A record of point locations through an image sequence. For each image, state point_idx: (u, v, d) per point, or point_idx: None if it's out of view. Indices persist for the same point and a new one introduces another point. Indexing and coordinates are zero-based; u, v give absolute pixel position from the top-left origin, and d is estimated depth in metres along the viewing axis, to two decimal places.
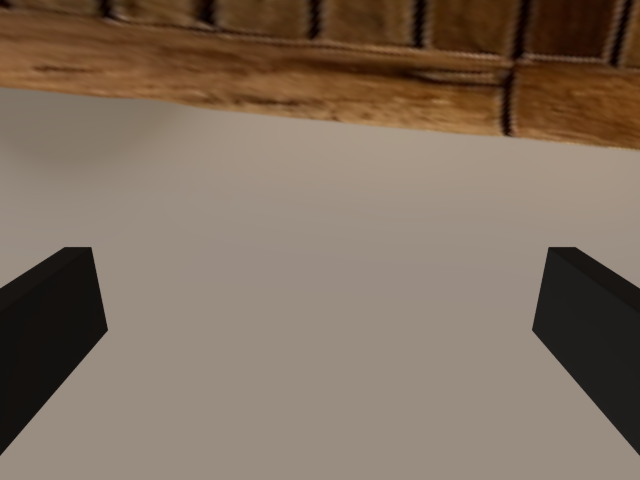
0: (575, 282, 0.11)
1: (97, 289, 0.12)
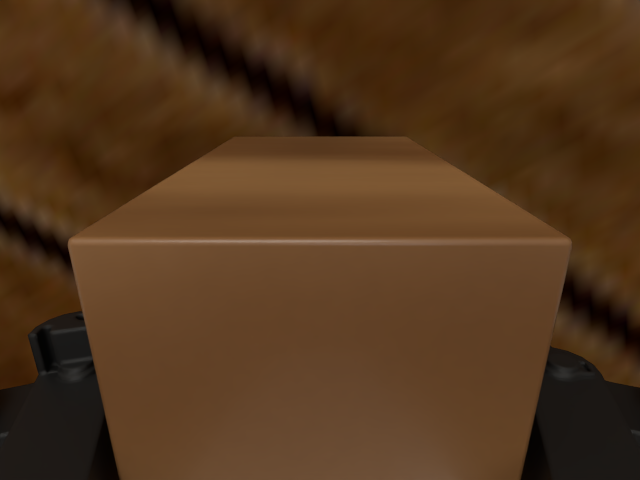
0: None
1: None
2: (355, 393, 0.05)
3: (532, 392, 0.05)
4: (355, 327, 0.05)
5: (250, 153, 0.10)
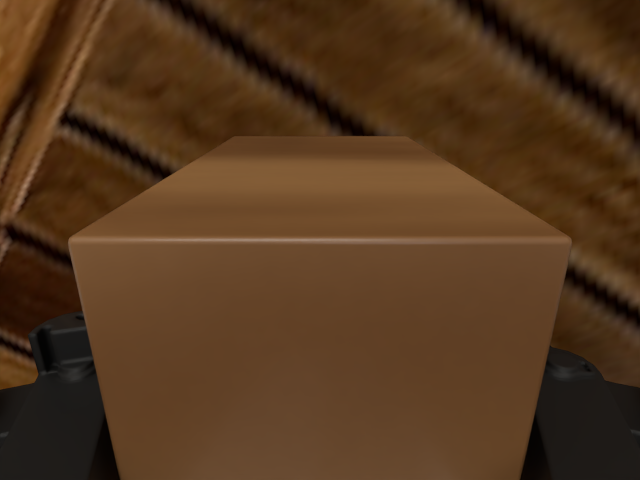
0: None
1: None
2: (354, 392, 0.05)
3: (532, 391, 0.05)
4: (355, 326, 0.05)
5: (250, 152, 0.10)
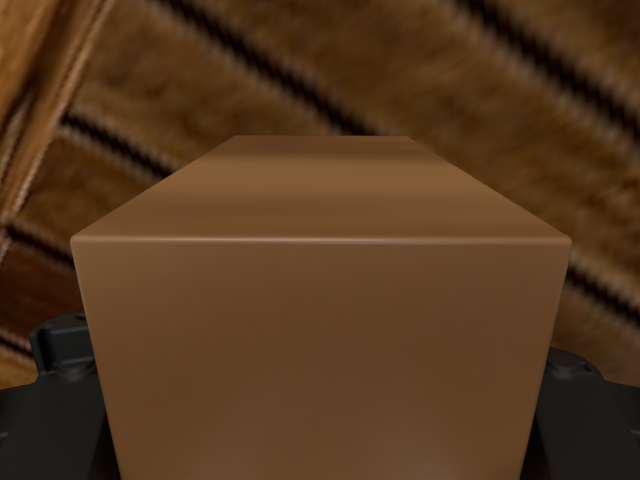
0: None
1: None
2: (355, 391, 0.05)
3: (532, 391, 0.05)
4: (356, 325, 0.05)
5: (251, 152, 0.10)
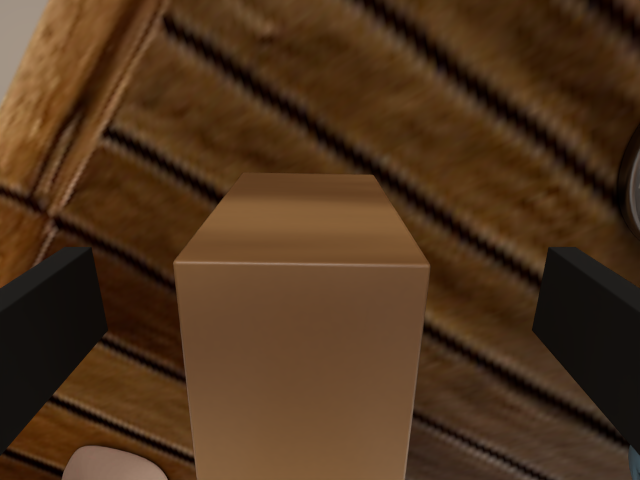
0: (576, 282, 0.11)
1: (97, 289, 0.12)
2: (321, 345, 0.10)
3: (416, 345, 0.10)
4: (320, 308, 0.09)
5: (258, 193, 0.14)
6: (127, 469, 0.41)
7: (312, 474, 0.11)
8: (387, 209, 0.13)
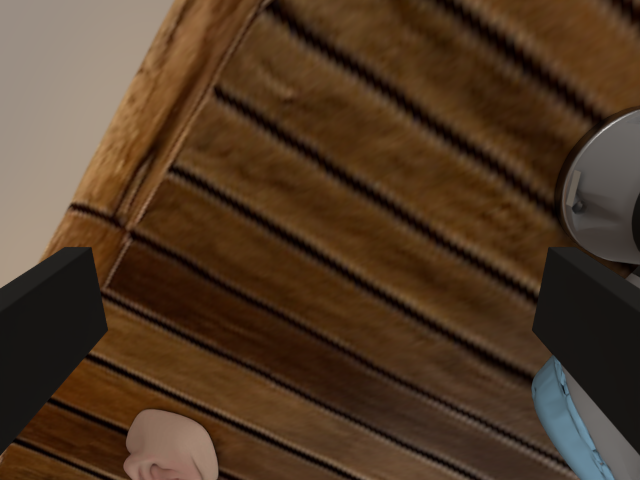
0: (575, 282, 0.11)
1: (98, 289, 0.12)
2: None
3: None
4: None
5: None
6: (179, 428, 0.52)
7: None
8: None
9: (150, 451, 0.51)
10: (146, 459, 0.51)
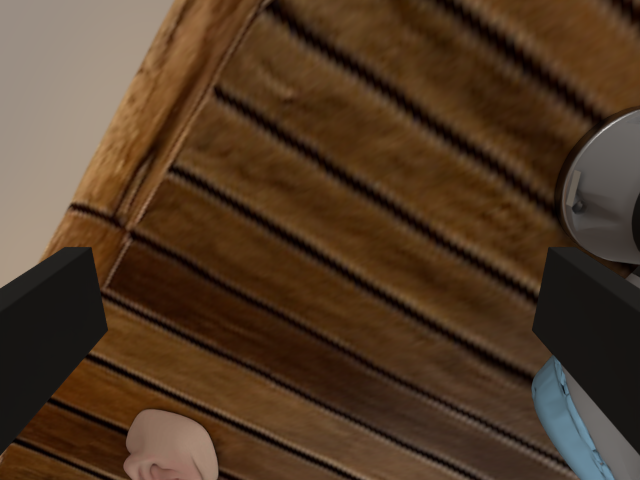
0: (575, 282, 0.11)
1: (98, 289, 0.12)
2: None
3: None
4: None
5: None
6: (179, 428, 0.52)
7: None
8: None
9: (150, 451, 0.51)
10: (146, 459, 0.51)
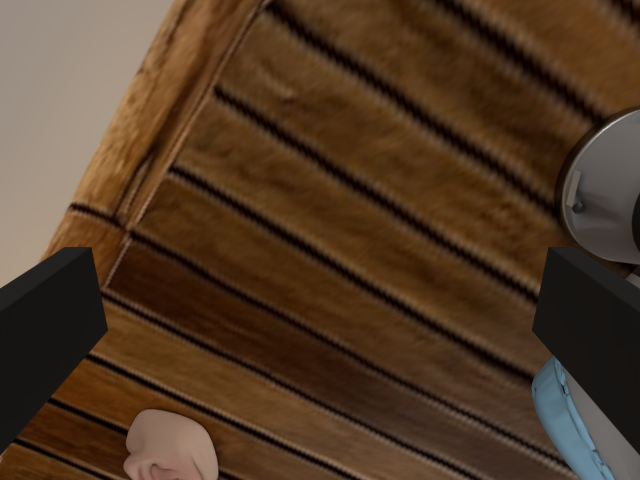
0: (575, 282, 0.11)
1: (98, 289, 0.12)
2: None
3: None
4: None
5: None
6: (179, 428, 0.52)
7: None
8: None
9: (150, 451, 0.51)
10: (146, 459, 0.51)
